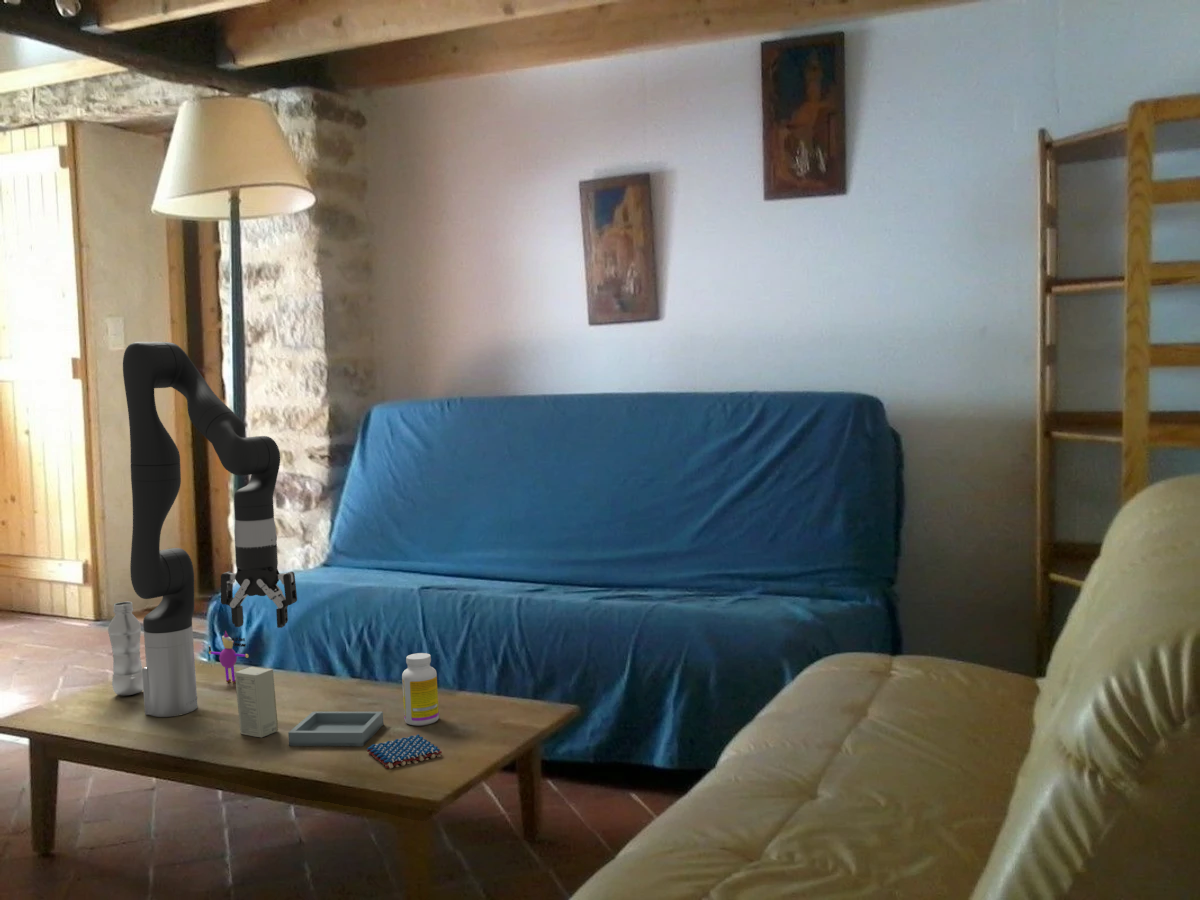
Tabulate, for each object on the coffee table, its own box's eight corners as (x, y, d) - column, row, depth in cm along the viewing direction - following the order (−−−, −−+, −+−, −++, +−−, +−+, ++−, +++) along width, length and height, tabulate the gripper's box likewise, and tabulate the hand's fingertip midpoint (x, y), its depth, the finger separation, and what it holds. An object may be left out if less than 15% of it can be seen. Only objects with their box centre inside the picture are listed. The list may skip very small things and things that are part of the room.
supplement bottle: (446, 720, 209) (443, 655, 208) (418, 729, 204) (415, 662, 203) (424, 713, 213) (421, 649, 212) (397, 722, 209) (394, 657, 208)
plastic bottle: (138, 698, 230) (132, 606, 229) (107, 699, 230) (100, 607, 229) (151, 689, 237) (145, 599, 235) (120, 690, 237) (114, 600, 235)
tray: (289, 745, 197) (288, 732, 197) (313, 724, 209) (313, 711, 209) (362, 746, 196) (362, 732, 195) (383, 724, 208) (382, 711, 207)
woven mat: (444, 759, 189) (444, 747, 189) (387, 773, 183) (386, 761, 183) (420, 742, 198) (420, 732, 198) (365, 755, 192) (364, 744, 192)
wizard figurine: (254, 683, 239) (251, 630, 238) (244, 687, 236) (240, 633, 235) (215, 679, 243) (211, 626, 242) (205, 683, 240) (201, 630, 239)
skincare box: (279, 731, 206) (275, 669, 205) (260, 738, 202) (256, 675, 201) (256, 726, 209) (252, 665, 208) (237, 733, 205) (233, 671, 204)
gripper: (210, 545, 201) (215, 631, 202) (283, 545, 199) (287, 631, 200) (230, 539, 208) (234, 621, 209) (299, 538, 206) (304, 622, 207)
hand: (260, 626), depth 205 cm, fingers open, 8 cm apart
